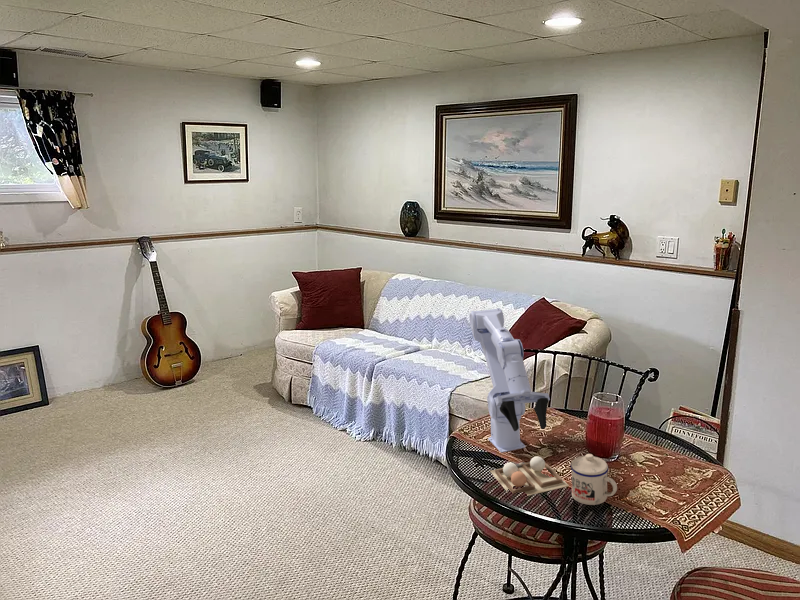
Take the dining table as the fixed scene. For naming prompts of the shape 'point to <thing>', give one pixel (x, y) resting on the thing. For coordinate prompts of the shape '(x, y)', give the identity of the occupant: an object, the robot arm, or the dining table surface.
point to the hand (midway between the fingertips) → (530, 428)
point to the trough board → (531, 480)
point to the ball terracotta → (518, 479)
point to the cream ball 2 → (537, 463)
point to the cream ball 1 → (509, 469)
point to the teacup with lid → (590, 480)
